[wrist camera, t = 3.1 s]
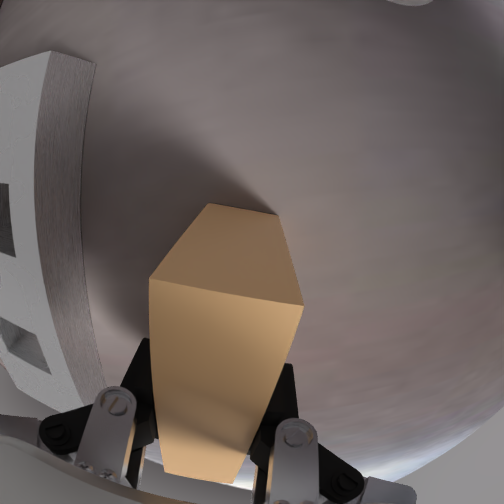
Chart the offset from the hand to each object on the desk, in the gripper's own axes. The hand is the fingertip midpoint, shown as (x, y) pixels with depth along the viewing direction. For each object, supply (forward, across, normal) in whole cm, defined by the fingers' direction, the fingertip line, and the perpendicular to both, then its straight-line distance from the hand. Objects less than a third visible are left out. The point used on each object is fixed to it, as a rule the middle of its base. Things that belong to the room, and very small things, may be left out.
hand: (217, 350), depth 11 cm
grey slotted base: (+3, +12, 0) cm, 12 cm away
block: (+3, 0, 0) cm, 3 cm away
